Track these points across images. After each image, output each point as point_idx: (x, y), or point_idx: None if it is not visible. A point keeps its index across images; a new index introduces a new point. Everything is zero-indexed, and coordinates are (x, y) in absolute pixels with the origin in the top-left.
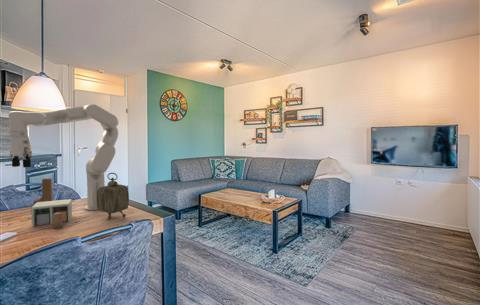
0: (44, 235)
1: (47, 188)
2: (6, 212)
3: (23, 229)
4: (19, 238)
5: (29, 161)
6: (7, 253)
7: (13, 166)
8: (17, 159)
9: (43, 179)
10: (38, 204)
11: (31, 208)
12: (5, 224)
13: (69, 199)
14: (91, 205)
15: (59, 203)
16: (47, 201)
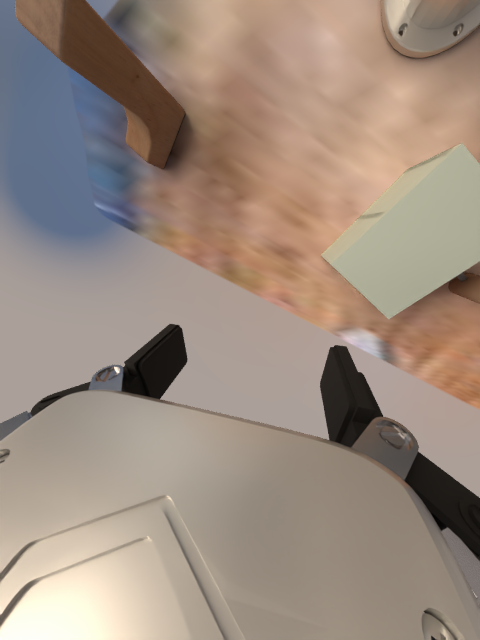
0: (469, 330)
1: (126, 73)
2: (160, 241)
3: (363, 315)
4: (414, 352)
5: (377, 405)
6: (464, 398)
7: (186, 360)
8: (144, 378)
9: (62, 49)
10: (372, 284)
11: (387, 317)
12: (277, 304)
13: (456, 158)
14: (467, 6)
15: (464, 243)
16: (363, 238)
